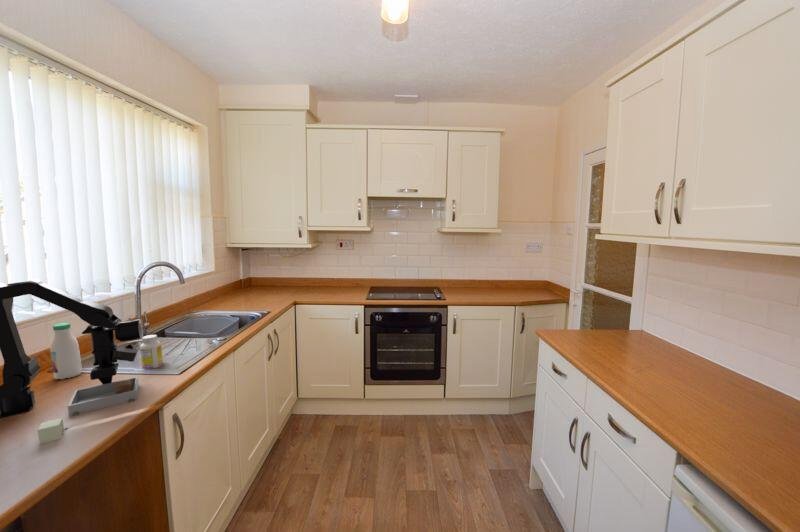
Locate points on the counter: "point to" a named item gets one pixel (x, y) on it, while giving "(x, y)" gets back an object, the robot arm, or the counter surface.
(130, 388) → the walnut block
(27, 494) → the counter surface
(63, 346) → the milk bottle
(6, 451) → the counter surface
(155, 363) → the supplement bottle
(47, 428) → the sage block
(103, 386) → the grey shallow tray
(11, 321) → the robot arm
